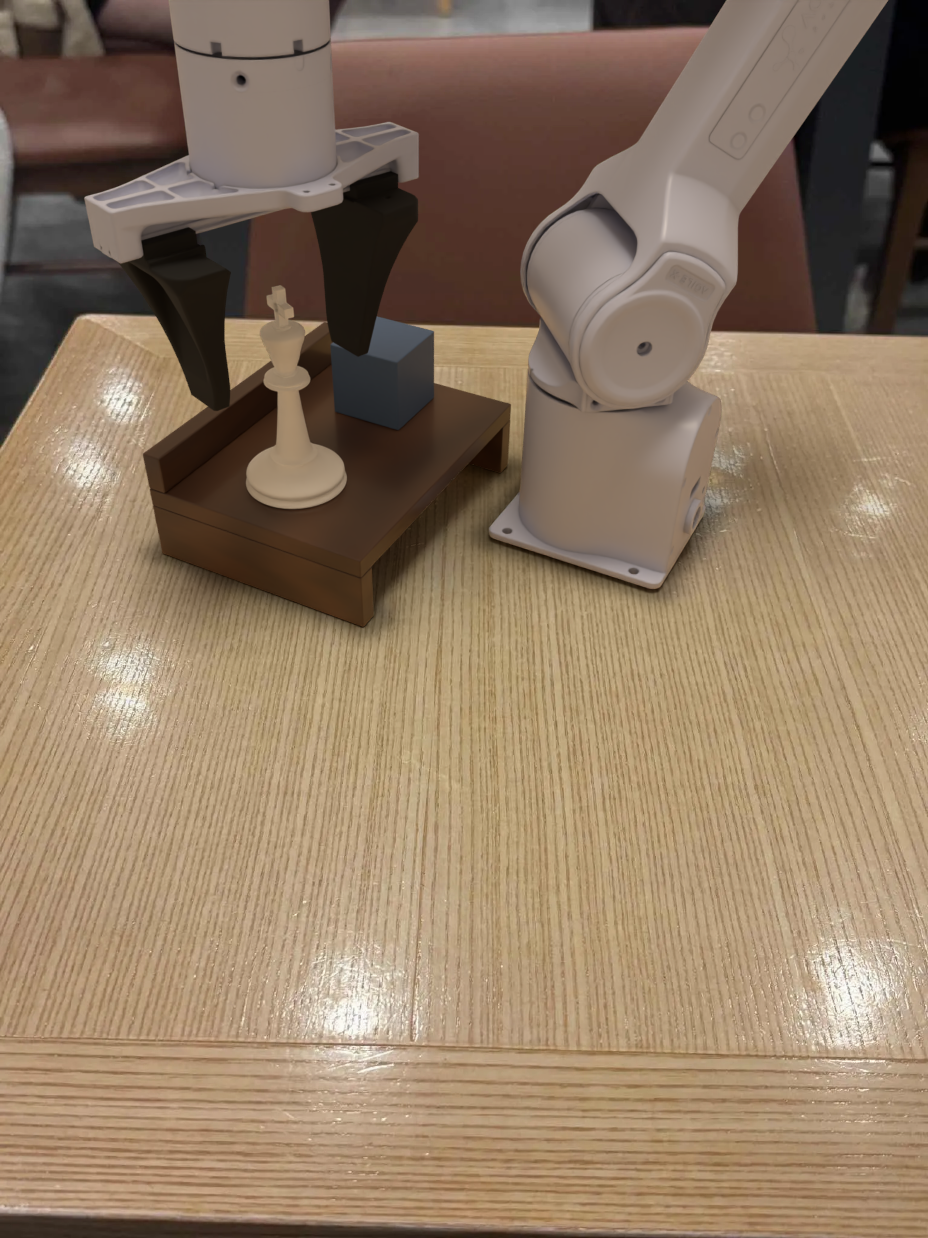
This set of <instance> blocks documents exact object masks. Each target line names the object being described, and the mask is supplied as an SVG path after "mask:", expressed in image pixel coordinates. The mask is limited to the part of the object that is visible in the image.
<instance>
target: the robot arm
mask: <svg viewBox="0 0 928 1238" xmlns="http://www.w3.org/2000/svg"><path fill="white" fill-rule="evenodd" d="M167 1H168V9H169V15H170V24H171V31H172V37H173V44H174V53H175V58H176V67H177V68H176V69H177V76H178V83H179V90H180V96H181V105H182V112H183V113H182V114H183V120H184V127H185V136H186V143H187V144H186V145H187V150H188V155H185V156H183V157H181V158H179V159H177V160H174V161H172V162H170V163H168V164H166V165H163V166H162V167H158V168H157V169H155V170H152V171H150V172H148V173H146V174H143V175H141V176H138V177H137V178H135V179H133V180H130V181H128V182H126V183H123V184H121V185H119V186H116V187H113V188H109V189H107V190H104V191H101V192H97V193H93V194H90V195H86V196H84V198H83V199H84V204H85V209H86V215H87V218H88V223H89V229H90V233H91V239H92V245H93V248H95V249H97V250H98V251H99V252H101V253H102V254H103V255H105V256H107V257H108V258H110V259H112V260H114V261H116V262H117V263H118V265H120V267H121V268H122V269H123V271H124V272H125V274H126V275H127V276H128V277H129V279H130V280H131V281H132V283H133V284H134V286H135V287H136V288H137V290H138V291H139V293H140V294H141V296H142V298H143V299H144V300H145V301H146V303H147V305H148V307H149V308H150V309H151V311H152V312H153V314H154V317H156V320H157V321H158V323H159V324H160V326H161V328H162V330H163V332H164V334H165V335H166V338H167V340H168V341H169V343H170V345H171V348H172V350H173V352H174V354H175V356H176V358H177V361H178V363H179V365H180V368H181V371H182V372H183V376H184V378H185V381H186V383H187V386H188V389H189V393H190V394H191V396H192V397H194V398H195V399H196V400H198V401H199V402H201V403H202V404H204V405H205V406H206V407H209V408H211V409H212V410H214V411H219V410H221V409H224V408H227V407H229V405H230V390H231V380H230V372H229V366H228V358H227V351H226V340H225V335H226V334H225V333H226V332H225V331H226V329H225V325H226V306H227V297H228V290H229V284H230V279H231V276H232V275H231V274H232V272H231V271H230V270H229V269H228V268H226V267H225V266H223V265H221V264H219V263H218V262H216V261H214V260H212V259H211V258H209V257H208V256H207V251H206V249H207V248H206V245H205V244H199V243H198V237H197V235H198V234H201V233H205V232H208V231H212V230H215V229H218V228H223V227H226V226H230V225H233V224H237V223H240V222H243V221H248V220H251V219H254V218H258V217H261V216H265V215H269V214H272V213H275V212H278V211H283V210H287V209H293V210H296V211H297V212H301V213H310V215H311V218H312V223H313V226H314V230H315V234H316V239H317V244H318V249H319V255H320V260H321V265H322V275H323V276H322V277H323V286H324V288H323V289H324V303H325V314H326V315H325V316H326V322H327V323H328V328H329V333H330V337H331V341H332V342H333V343H335V344H337V345H339V346H340V347H342V348H344V349H345V350H347V351H349V352H351V353H352V354H354V355H356V356H357V357H359V356H362V355H364V354H367V353H368V351H369V347H370V343H371V339H372V334H373V330H374V326H375V322H376V318H377V317H378V313H379V310H380V306H381V302H382V298H383V295H384V292H385V289H386V285H387V283H388V279H389V277H390V274H391V272H392V269H393V267H394V265H395V263H396V261H397V259H398V256H399V254H400V252H401V250H402V248H403V246H404V244H405V242H406V241H407V239H408V238H409V236H410V234H411V232H412V231H413V229H414V228H415V227H416V225H417V224H418V222H419V198H418V197H417V196H416V195H414V194H413V193H411V192H409V191H406V190H404V189H401V188H399V183H401V184H402V183H407V182H410V181H414V180H418V179H419V178H420V173H419V172H420V171H419V170H420V149H419V148H420V142H419V141H420V137H419V136H420V134H419V132H417V131H414V130H412V129H409V128H407V127H404V126H401V125H400V124H397V123H395V122H391V121H386V122H382V123H376V124H371V125H365V126H358V127H349V128H338V129H336V116H335V97H334V96H335V94H334V75H333V54H332V38H331V37H332V34H331V14H330V12H331V11H330V0H167ZM888 1H889V0H725V2H724V3H723V5H722V7H721V8H720V9H719V12H718V13H717V15H716V16H715V18H714V19H713V21H712V23H711V24H710V26H709V27H708V29H707V30H706V32H705V34H704V35H703V37H702V38H701V40H700V42H699V44H698V45H697V46H696V48H695V50H694V52H693V53H692V55H691V56H690V57H689V59H688V61H687V63H686V64H685V66H684V67H683V69H682V71H681V72H680V74H679V75H678V77H677V78H676V80H675V82H674V83H673V85H672V87H671V88H670V90H669V91H668V93H667V95H666V96H665V98H664V100H662V102H661V104H660V106H659V107H658V109H657V110H656V112H655V114H654V115H653V117H652V119H651V120H650V122H649V123H648V125H647V127H646V128H645V130H644V131H643V133H642V134H641V136H640V138H639V139H638V141H637V142H636V143H634V144H633V145H632V146H631V145H630V146H629V147H628V148H626V149H624V150H622V151H621V152H619V153H617V154H614V155H613V156H610V157H608V158H607V159H604V160H603V161H601V162H600V163H598V164H596V166H594V167H593V168H592V170H591V172H590V174H589V175H588V176H587V178H586V180H585V182H584V183H583V184H582V186H581V187H580V189H579V190H578V191H577V192H576V193H575V194H574V196H573V197H572V198H570V200H568V201H567V202H566V203H564V204H563V205H562V206H560V207H559V208H557V209H556V210H554V211H553V212H552V213H550V214H548V215H547V216H546V217H545V218H544V219H543V220H542V221H541V222H540V223H539V224H538V225H537V226H536V227H535V229H534V230H533V232H532V234H530V237H529V239H528V240H527V242H526V243H525V247H524V249H523V252H522V256H521V260H520V271H519V274H520V284H521V288H522V291H523V294H524V296H525V298H526V300H527V302H528V303H529V305H530V306H531V307H532V309H534V311H535V312H536V313H537V314H538V315H539V316H540V317H539V324H538V325H539V326H538V331H537V335H536V337H535V339H534V342H533V343H532V347H531V348H530V351H529V354H528V357H527V358H528V359H527V374H526V390H525V391H526V392H525V404H524V420H523V421H524V422H523V439H522V450H521V451H522V452H521V453H522V454H521V465H520V466H521V467H520V482H519V483H520V485H519V491H518V492H517V493H516V495H515V496H513V499H511V500H510V502H508V504H507V505H506V506H505V507H504V509H503V510H502V511H501V513H499V515H498V516H497V517H496V518H495V520H494V521H493V522H492V523H491V524H490V526H489V527H488V536H489V537H490V538H492V539H494V540H497V541H499V542H503V543H506V544H510V545H511V546H512V545H513V546H516V547H518V548H522V549H525V550H528V551H531V552H534V553H537V554H540V555H544V556H546V557H550V558H553V559H555V560H559V561H561V562H565V563H568V564H571V565H575V566H578V567H580V568H584V569H587V570H590V571H594V572H596V573H599V574H601V575H605V576H608V577H612V578H615V579H619V580H621V581H624V582H628V583H631V584H633V585H637V586H640V587H643V588H646V589H650V590H657V589H659V588H661V586H662V585H663V584H664V582H665V581H666V579H667V577H668V576H669V573H670V572H671V570H672V568H673V567H674V565H675V564H676V562H677V561H678V558H679V557H680V555H681V553H682V552H683V551H684V549H685V547H686V545H687V543H688V542H689V540H690V539H691V537H692V535H693V533H694V532H695V531H696V528H697V527H698V525H699V524H700V522H701V520H702V518H703V517H704V515H705V513H706V508H707V507H706V504H705V502H706V498H707V497H706V496H707V492H708V491H707V490H708V486H709V481H710V477H711V471H712V465H713V461H714V456H715V450H716V446H717V440H718V435H719V431H720V427H721V426H720V425H721V419H722V409H723V408H722V407H723V405H722V398H720V397H719V396H718V395H715V394H713V393H710V392H708V391H706V390H704V389H702V388H700V387H699V386H698V387H697V386H696V385H693V384H692V383H691V382H689V380H690V379H691V378H692V377H693V375H694V374H695V373H696V371H697V370H698V369H699V366H700V365H701V364H702V361H703V360H704V357H705V356H706V352H707V349H708V347H709V342H710V338H711V332H712V329H713V325H714V322H715V320H716V317H717V315H718V313H719V311H720V309H721V307H722V306H723V304H724V302H725V300H726V299H727V298H728V296H729V295H730V293H731V292H732V290H733V289H734V288H735V286H736V285H737V282H738V275H739V274H738V273H739V221H740V219H739V218H740V215H741V213H742V211H743V210H744V208H745V207H746V205H747V204H748V203H749V201H750V200H751V199H752V197H753V195H754V194H755V193H756V191H757V190H758V188H759V187H760V186H761V184H762V182H764V180H765V178H766V177H767V175H768V174H769V172H770V171H771V169H773V167H774V165H775V164H776V162H777V161H778V160H779V158H780V157H781V156H782V154H783V153H784V151H785V149H786V148H787V147H788V145H789V144H790V142H791V141H792V139H793V138H794V136H795V135H796V134H797V132H798V131H799V129H800V128H801V127H802V125H803V124H804V122H805V121H806V119H807V118H808V116H810V114H811V112H812V111H813V109H814V108H815V107H816V105H817V104H818V102H819V101H820V99H821V98H822V96H823V95H824V94H825V92H826V91H827V89H828V88H829V87H830V85H831V84H832V82H833V81H834V79H835V78H836V76H837V75H838V73H839V72H840V71H841V69H842V68H843V67H844V65H845V63H846V62H847V61H848V59H849V58H850V56H851V55H852V53H853V52H854V50H855V49H856V47H857V46H858V45H859V43H860V42H861V41H862V39H863V37H864V36H865V35H866V33H867V32H868V31H869V29H870V28H871V26H872V24H873V23H874V22H875V20H877V18H878V16H879V14H880V13H881V11H882V10H883V8H884V7H885V6H886V4H887V2H888Z"/></svg>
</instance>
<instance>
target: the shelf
mask: <svg viewBox="0 0 928 1238" xmlns="http://www.w3.org/2000/svg"><path fill="white" fill-rule="evenodd" d="M332 343H333V342H332V341H331V337H330V333H329V328H328V323H327V321H324V322H322V323H321V324H320V325H318V326H317V327H315V328H313V329H312V330H311V331H310V332H308V333H307V334H305V337H304V342H303V344H302V347H301V351H300V357H299V360H298V364H297V366H300V367H302V368H304V369H305V370H307V372H308V374H309V376H310V383H309V384H308V385H307V386H306V387H305V388H303V389H301V390H299V395H300V400H301V405H302V410H303V414H304V419H305V423H306V428H307V432H308V436H309V440H310V442H311V443H313V444H317V445H321V446H324V447H326V448H328V449H330V450H332V451H334V452H335V453H336V454H337V455H338V456H339V457H340V458H341V459H342V461H343V463H344V467H345V472H346V475H347V481H346V485H345V487H344V488H343V490H342V491H341V492H340V493H339V494H338V495H337V496H336V497H334V498H333V499H331V500H329V501H327V502H325V503H323V504H320V505H317V506H314V507H309V508H302V509H282V508H276V507H272V506H269V505H266V504H263V503H261V502H259V501H258V500H256V499H255V498H254V497H252V496H251V494H250V493H249V492H248V490H247V487H246V479H247V475H246V471H247V467H248V465H249V463H250V462H251V460H252V459H253V458H254V457H255V456H256V455H258V454H259V453H261V452H262V451H264V450H266V449H268V448H271V447H274V446H275V445H276V440H277V416H278V392H277V391H273V390H271V389H269V388H267V387H266V386H265V385H264V376H265V373H266V372H267V371H268V370H270V369H271V368H274V365H273V363H272V361H271V360H269V361H268V362H267V363H265V365H263V366H262V367H260V368H258V369H257V370H256V371H254V372H253V373H252V374H250V375H249V376H248V377H246V378H245V379H243V380H242V381H241V382H239V383H238V384H237V385H235V386H234V387H232V388H230V405H229V407H227V408H224V409H221V410H219V411H214V410H212V409H211V408H209V407H208V406H206V407H205V408H204V409H202V410H201V411H199V412H198V413H197V414H195V415H194V416H192V417H191V418H190V419H188V420H187V421H185V422H184V423H183V424H182V425H180V426H179V427H177V428H176V429H175V430H173V431H172V432H170V433H169V434H168V435H166V436H165V437H163V438H162V439H161V440H160V441H158V442H157V443H155V444H154V445H153V446H151V447H150V448H149V449H147V450H145V451H144V452H143V453H142V459H143V463H144V468H145V473H146V478H147V483H148V488H149V493H150V498H151V503H152V509H153V514H154V518H155V523H156V529H157V533H158V538H159V542H160V548H161V552H162V554H164V555H166V556H169V557H172V558H174V559H178V560H179V561H183V562H185V563H187V564H191V565H193V566H196V567H199V568H201V569H204V570H206V571H210V572H212V573H216V574H218V575H221V576H224V577H226V578H229V579H231V580H234V581H237V582H240V583H243V584H245V585H248V586H250V587H253V588H255V589H259V590H261V591H263V592H267V593H268V594H269V593H270V594H273V595H275V596H278V597H280V598H283V599H286V600H288V601H290V602H291V601H292V602H294V603H297V604H299V605H303V606H304V607H308V608H310V609H314V610H316V611H319V612H321V613H324V614H327V615H329V616H333V617H334V618H338V619H340V620H343V621H346V622H348V623H351V624H354V625H357V626H360V627H362V628H364V627H365V626H366V625H367V624H368V623H369V621H371V619H372V618H373V617H374V615H375V612H374V611H375V609H374V588H373V569H372V567H373V566H374V565H375V564H376V562H377V561H379V559H380V558H381V557H382V556H383V555H384V554H385V553H386V552H387V551H388V550H389V548H391V546H392V545H393V544H394V543H395V542H396V541H397V540H398V539H399V538H400V537H401V536H402V535H403V534H404V533H405V532H406V531H407V529H408V528H409V527H410V526H411V525H412V524H414V522H415V521H417V519H418V518H419V517H420V516H421V514H423V512H424V511H425V510H426V509H427V508H428V507H430V505H431V504H432V503H433V502H434V501H435V500H436V498H438V496H440V495H441V493H442V492H444V490H445V489H447V487H448V486H449V485H450V484H451V483H452V482H453V481H454V479H456V477H458V476H459V474H460V473H461V472H462V471H463V470H464V469H465V468H466V467H467V466H468V465H471V466H475V467H479V468H481V469H485V470H489V471H492V472H496V473H499V474H502V472H503V471H504V470H505V469H506V468H507V467H508V465H509V452H510V436H511V435H510V433H511V431H510V430H511V414H512V413H511V411H512V404H511V403H509V402H505V401H502V400H499V399H495V398H491V397H487V396H483V395H480V394H476V393H472V392H469V391H465V390H462V389H458V388H455V387H451V386H447V385H442V384H439V383H435V382H434V398H433V399H432V400H431V401H430V402H429V403H427V404H426V405H425V406H424V407H423V408H422V409H421V410H420V411H419V412H418V413H417V414H416V415H415V416H413V417H412V418H411V419H410V420H409V421H408V422H407V423H406V424H405V425H404V426H403V427H402V428H401V429H399V430H395V429H392V428H389V427H385V426H382V425H378V424H375V423H372V422H368V421H365V420H361V419H358V418H355V417H351V416H348V415H344V414H341V413H338V412H335V408H334V393H333V377H332V362H331V347H330V345H331V344H332Z"/></svg>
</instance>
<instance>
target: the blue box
mask: <svg viewBox="0 0 928 1238" xmlns="http://www.w3.org/2000/svg"><path fill="white" fill-rule="evenodd" d="M330 347H331V362H332V377H333V393H334V408H335V412H338V413H341V414H344V415H348V416H351V417H355V418H358V419H361V420H365V421H368V422H372V423H375V424H378V425H382V426H385V427H389V428H392V429H395V430H399V429H401V428H402V427H403V426H404V425H405V424H406V423H407V422H408V421H409V420H410V419H411V418H412V417H413V416H415V415H416V414H417V413H418V412H419V411H420V410H421V409H422V408H423V407H424V406H425V405H426V404H427V403H429V402H430V401H431V400H432V399H433V398H434V383H435V331H434V330H432V329H428V328H423V327H420V326H416V325H412V324H408V323H405V322H401V321H397V320H392V319H390V318H389V319H388V318H385V317H382V316H381V317H380V316H377V318H376V322H375V326H374V330H373V334H372V339H371V343H370V347H369V351H368V353H367V354H364V355H362V356H359V357H357V356H356V355H354V354H352V353H351V352H349V351H347V350H345V349H344V348H342V347H340V346H339V345H337V344H335V343H332V344H331V345H330Z"/></svg>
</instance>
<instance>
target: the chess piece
mask: <svg viewBox="0 0 928 1238" xmlns="http://www.w3.org/2000/svg"><path fill="white" fill-rule="evenodd" d="M265 298H266V304H267V306H268V307H269V308H270V309H271V310H273V314H274V320H271V321H269V322H266V323H265V324H264V325H263V326H262V327H261V328H260V330H259V337H260V339H261V342H262V344H263V346H264V348H265V350H266V351H267V354H268V357H269V359H270V361H272V363H273V365H274V368H271V369H270V370H268V371H267V372H266V373H265V376H264V385H265V386H266V387H267V388H269V389H271V390H273V391H277V392H278V416H277V440H276V445H275V446H274V447H271V448H268V449H266V450H264V451H262V452H261V453H259V454H258V455H256V456H255V457H254V458H253V459H252V460H251V462H250V463H249V465H248V467H247V471H246V475H247V479H246V487H247V490H248V492H249V493H250V494H251V496H252V497H254V498H255V499H256V500H258V501H259V502H261V503H263V504H266V505H269V506H272V507H276V508H282V509H302V508H309V507H314V506H317V505H320V504H323V503H325V502H327V501H329V500H331V499H333V498H334V497H336V496H337V495H338V494H339V493H340V492H341V491H342V490H343V488H344V487H345V485H346V481H347V475H346V472H345V467H344V463H343V461H342V459H341V458H340V457H339V456H338V455H337V454H336V453H335V452H334V451H332V450H330V449H328V448H326V447H324V446H321V445H317V444H313V443H311V442H310V440H309V436H308V432H307V428H306V423H305V419H304V414H303V410H302V405H301V400H300V395H299V390H301V389H303V388H305V387H306V386H307V385H308V384H309V383H310V376H309V374H308V372H307V370H305V369H304V368H302V367H300V366H297V364H298V360H299V357H300V351H301V347H302V344H303V342H304V337H305V336H306V329H305V327H304V326H303V325H302V324H301V323H299V322H298V321H296V320H292V318H294V317H295V311H294V307H293V306H292V305H291V304H290V303H288V302H287V292H286V288H285V287H284V286H283V285H281V284H280V285H275V286H271V294H267V295H266V297H265Z"/></svg>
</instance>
